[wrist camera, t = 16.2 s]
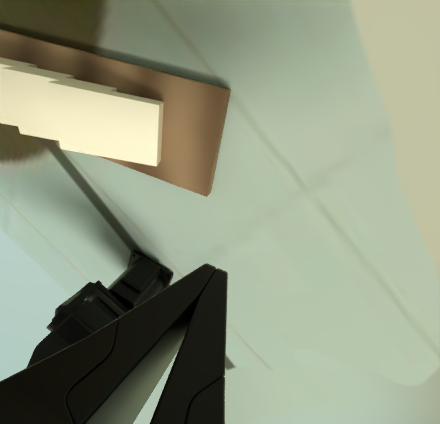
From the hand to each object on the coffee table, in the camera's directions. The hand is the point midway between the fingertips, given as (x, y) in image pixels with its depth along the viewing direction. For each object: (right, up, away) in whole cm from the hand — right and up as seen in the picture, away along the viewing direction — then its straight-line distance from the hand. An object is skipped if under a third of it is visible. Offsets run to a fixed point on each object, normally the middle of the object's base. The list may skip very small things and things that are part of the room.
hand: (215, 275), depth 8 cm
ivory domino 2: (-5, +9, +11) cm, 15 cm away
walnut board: (-12, +12, +14) cm, 22 cm away
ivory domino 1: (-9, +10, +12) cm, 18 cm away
